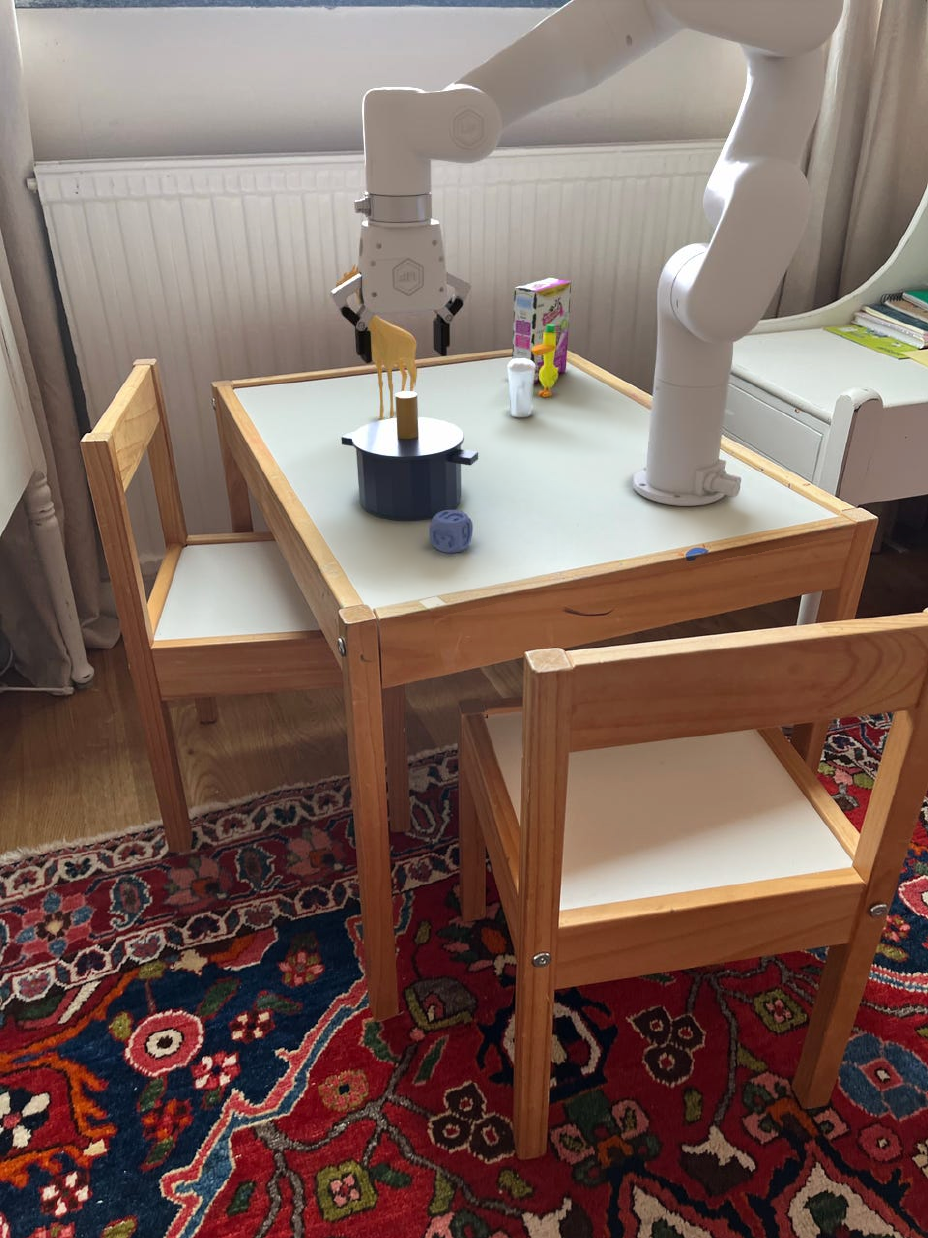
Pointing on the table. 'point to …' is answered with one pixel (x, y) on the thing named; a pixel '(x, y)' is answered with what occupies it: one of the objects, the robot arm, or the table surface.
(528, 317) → the candy bar box
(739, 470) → the table surface
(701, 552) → the table surface
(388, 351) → the giraffe
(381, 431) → the lid
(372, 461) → the blue cooking pot
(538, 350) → the toy figure
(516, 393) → the milkshake
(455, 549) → the decorative dice
